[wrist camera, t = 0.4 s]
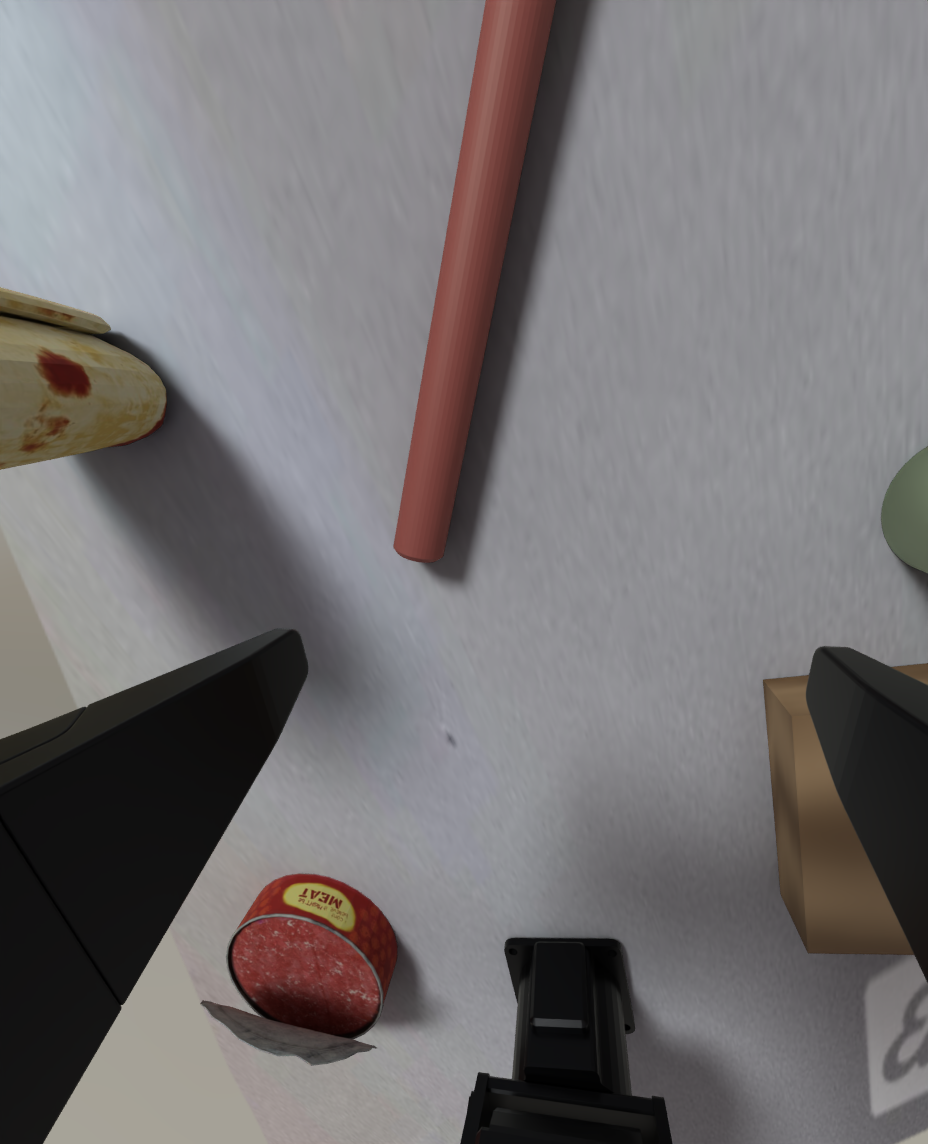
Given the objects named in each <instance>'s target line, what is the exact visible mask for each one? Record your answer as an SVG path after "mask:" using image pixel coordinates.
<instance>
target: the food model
mask: <svg viewBox="0 0 928 1144" xmlns="http://www.w3.org/2000/svg"><path fill="white" fill-rule="evenodd" d="M110 330H111V328H110V326H109V325H108V324H107V323H106V322H105V321H104V320H103V319H102V318H101V317H98V316H96V315H94V314H92V313H88V312H85V311H82V310H78V309H75V308H72V307H68V306H65V305H62V304H58V303H55V302H51V301H48V300H44V299H41V298H37V297H34V296H30V295H27V294H23V293H19V292H15V291H12V290H8V289H4V288H0V470H1V469H6V468H11V467H16V466H21V465H26V464H31V463H36V462H41V461H46V460H51V459H56V458H60V457H65V456H70V455H75V454H80V453H85V452H90V451H94V450H98V449H102V448H105V447H115V446H123V445H128V444H130V443H133V442H135V441H138V440H140V439H142V438H145V437H147V436H149V435H151V434H152V433H153V432H155V431H156V430H157V429H158V428H160V427H161V425H162V424H163V421H164V417H165V411H166V405H167V397H166V389H165V387H164V385H163V383H162V381H161V379H160V378H159V376H158V375H157V374H156V373H155V372H154V371H153V370H152V369H151V368H150V367H149V366H148V365H147V364H145V363H144V362H142V361H141V360H139V359H137V358H136V357H134V356H133V355H131V354H130V353H127V352H125V351H123V350H121V349H119V348H117V347H115V346H113V345H111V344H109V343H107V342H105V341H102V340H100V339H98V338H96V337H94V336H92V335H89V334H103V333H106V332H108V331H110Z"/></svg>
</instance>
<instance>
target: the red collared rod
mask: <svg viewBox="0 0 928 1144" xmlns="http://www.w3.org/2000/svg"><path fill="white" fill-rule="evenodd" d="M555 4H556V0H486V3H485V9H484V15H483V21H482V27H481V32H480V38H479V44H478V50H477V56H476V62H475V68H474V74H473V80H472V86H471V91H470V97H469V103H468V109H467V115H466V121H465V127H464V133H463V139H462V145H461V151H460V156H459V162H458V168H457V174H456V180H455V186H454V192H453V198H452V204H451V210H450V215H449V221H448V227H447V233H446V239H445V245H444V251H443V257H442V263H441V269H440V275H439V280H438V286H437V292H436V298H435V304H434V310H433V316H432V322H431V328H430V334H429V340H428V345H427V351H426V357H425V363H424V369H423V375H422V381H421V387H420V393H419V399H418V404H417V410H416V416H415V422H414V428H413V434H412V440H411V446H410V452H409V458H408V464H407V469H406V475H405V481H404V487H403V493H402V499H401V505H400V511H399V517H398V523H397V528H396V534H395V540H394V549H395V550H396V552H397V553H398V554H399V555H400V556H402V557H403V558H406V559H409V560H412V561H416V562H424V563H430V562H435V561H437V560H439V559H440V558H442V557H443V556H444V551H445V546H446V541H447V536H448V531H449V526H450V521H451V516H452V511H453V506H454V501H455V496H456V492H457V487H458V482H459V477H460V472H461V467H462V462H463V457H464V452H465V447H466V442H467V437H468V432H469V428H470V423H471V418H472V413H473V408H474V403H475V398H476V393H477V388H478V383H479V378H480V373H481V368H482V363H483V359H484V354H485V349H486V344H487V339H488V334H489V329H490V324H491V319H492V314H493V309H494V304H495V299H496V295H497V290H498V285H499V280H500V275H501V270H502V265H503V260H504V255H505V250H506V245H507V240H508V235H509V231H510V226H511V221H512V216H513V211H514V206H515V201H516V196H517V191H518V186H519V181H520V176H521V171H522V166H523V162H524V157H525V152H526V147H527V142H528V137H529V132H530V127H531V122H532V117H533V112H534V107H535V102H536V98H537V93H538V88H539V83H540V78H541V73H542V68H543V63H544V58H545V53H546V48H547V43H548V38H549V33H550V29H551V24H552V19H553V14H554V9H555Z"/></svg>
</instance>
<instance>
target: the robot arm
mask: <svg viewBox="0 0 928 1144" xmlns="http://www.w3.org/2000/svg"><path fill="white" fill-rule="evenodd" d="M307 674H308V662H307V658H306V654H305V650H304V647H303V643H302V639H301V636H300V634H299V632H298V631H297V630H295V629H274V630H272V631H269V632H267V633H264V634H262V635H260V636H257V637H255V638H252V639H250V640H247V641H245V642H242V643H240V644H237V645H235V646H232V647H230V648H227V649H225V650H223V651H220V652H218V653H215V654H213V655H210V656H208V657H205V658H203V659H200V660H198V661H195V662H193V663H190V664H188V665H186V666H183V667H181V668H178V669H176V670H173V671H171V672H168V673H166V674H163V675H161V676H158V677H156V678H153V679H151V680H149V681H146V682H144V683H141V684H139V685H136V686H134V687H131V688H129V689H126V690H124V691H121V692H119V693H116V694H114V695H112V696H109V697H107V698H104V699H102V700H99V701H97V702H94V703H92V704H90V705H88V707H82V708H79V709H77V710H74V711H72V712H69V713H67V714H64V715H62V716H59V717H57V718H54V719H52V720H49V721H47V722H44V723H42V724H39V725H37V726H34V727H32V728H29V729H27V730H24V731H21V732H19V733H16V734H14V735H11V736H8V737H6V738H3V739H0V1144H43V1143H44V1141H45V1139H46V1137H47V1136H48V1134H49V1132H50V1131H51V1129H52V1127H53V1125H54V1124H55V1122H56V1120H57V1119H58V1117H59V1115H60V1113H61V1112H62V1110H63V1108H64V1107H65V1105H66V1103H67V1101H68V1099H69V1098H70V1096H71V1094H72V1093H73V1091H74V1089H75V1088H76V1086H77V1084H78V1083H79V1081H80V1079H81V1077H82V1076H83V1074H84V1072H85V1071H86V1069H87V1067H88V1065H89V1064H90V1062H91V1060H92V1058H93V1057H94V1055H95V1053H96V1052H97V1050H98V1048H99V1047H100V1045H101V1043H102V1041H103V1040H104V1038H105V1036H106V1035H107V1033H108V1031H109V1029H110V1027H111V1026H112V1024H113V1023H114V1021H115V1019H116V1017H117V1016H118V1014H119V1012H120V1011H121V1005H123V1004H124V1003H125V1001H126V1000H127V998H128V996H129V995H130V993H131V991H132V989H133V987H134V986H135V984H136V983H137V981H138V979H139V977H140V976H141V974H142V972H143V971H144V969H145V967H146V965H147V964H148V962H149V960H150V958H151V957H152V955H153V953H154V952H155V950H156V948H157V947H158V945H159V943H160V941H161V940H162V938H163V936H164V935H165V933H166V931H167V930H168V928H169V926H170V924H171V923H172V921H173V919H174V918H175V916H176V914H177V912H178V911H179V909H180V907H181V906H182V904H183V902H184V901H185V899H186V897H187V895H188V894H189V892H190V890H191V889H192V887H193V885H194V883H195V882H196V880H197V878H198V877H199V875H200V873H201V871H202V870H203V868H204V866H205V865H206V863H207V861H208V859H209V858H210V856H211V854H212V853H213V851H214V849H215V847H216V846H217V844H218V842H219V841H220V839H221V837H222V836H223V834H224V832H225V830H226V829H227V827H228V825H229V824H230V822H231V820H232V818H233V817H234V815H235V813H236V812H237V810H238V808H239V806H240V805H241V803H242V801H243V800H244V798H245V796H246V794H247V793H248V791H249V789H250V788H251V786H252V784H253V782H254V781H255V779H256V777H257V776H258V774H259V772H260V771H261V769H262V767H263V765H264V764H265V762H266V760H267V759H268V757H269V755H270V753H271V752H272V750H273V748H274V746H275V744H276V743H277V741H278V739H279V736H280V734H281V732H282V730H283V728H284V726H285V724H286V722H287V719H288V717H289V715H290V713H291V711H292V708H293V706H294V704H295V702H296V700H297V697H298V695H299V693H300V691H301V689H302V686H303V684H304V682H305V680H306V678H307ZM806 702H807V706H808V709H809V712H810V715H811V718H812V721H813V724H814V727H815V730H816V733H817V736H818V739H819V742H820V745H821V748H822V751H823V754H824V757H825V760H826V763H827V765H828V768H829V771H830V774H831V777H832V780H833V783H834V785H835V788H836V791H837V793H838V796H839V798H840V800H841V802H842V805H843V807H844V809H845V811H846V813H847V815H848V817H849V819H850V821H851V824H852V826H853V828H854V830H855V832H856V834H857V836H858V838H859V840H860V842H861V844H862V847H863V849H864V851H865V853H866V855H867V857H868V859H869V861H870V863H871V865H872V867H873V870H874V872H875V874H876V876H877V878H878V880H879V882H880V884H881V886H882V888H883V890H884V892H885V895H886V897H887V899H888V901H889V903H890V905H891V907H892V909H893V911H894V913H895V915H896V918H897V920H898V922H899V924H900V926H901V928H902V930H903V932H904V934H905V936H906V938H907V940H908V943H909V945H910V947H911V949H912V951H913V953H914V955H915V957H916V959H917V961H918V963H919V966H920V968H921V970H922V972H923V974H924V976H925V978H926V980H927V982H928V685H927V684H925V683H923V682H921V681H918V680H916V679H914V678H912V677H910V676H908V675H906V674H904V673H902V672H900V671H898V670H895V669H893V668H891V667H889V666H887V665H885V664H883V663H881V662H879V661H877V660H875V659H872V658H870V657H868V656H866V655H864V654H862V653H860V652H858V651H856V650H854V649H851V648H848V647H829V646H823V647H819V648H818V649H816V651H815V653H814V655H813V659H812V664H811V669H810V673H809V678H808V683H807V687H806ZM504 952H505V956H506V960H507V964H508V968H509V972H510V976H511V980H512V983H513V987H514V991H515V995H516V999H517V1003H518V1008H517V1021H516V1034H515V1047H514V1060H513V1073H512V1079H506V1078H499V1077H492V1076H490V1075H489V1074H488V1073H481V1072H478V1075H477V1080H476V1085H475V1090H474V1091H472V1092H471V1096H470V1097H469V1102H468V1109H467V1115H466V1120H465V1124H464V1129H463V1134H462V1138H461V1143H460V1144H672V1139H671V1133H670V1128H669V1122H668V1117H667V1111H666V1106H665V1100H664V1097H656V1096H652V1099H651V1098H644V1097H637V1096H632V1093H631V1083H630V1073H629V1064H628V1054H627V1044H626V1035H625V1034H631V1033H633V1032H634V1031H635V1024H634V1017H633V1011H632V1006H631V1000H630V995H629V989H628V984H627V978H626V973H625V967H624V962H623V956H622V951H621V946H620V944H619V943H618V942H617V941H615V940H612V939H530V938H511V939H508V940H506V942H505V949H504Z"/></svg>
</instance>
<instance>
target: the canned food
mask: <svg viewBox="0 0 928 1144" xmlns="http://www.w3.org/2000/svg"><path fill="white" fill-rule="evenodd" d="M226 960H227V969H228V972H229V975H230V978H231V981H232V983H233V984H234V986H235V988H236V990H237V991H238V993H239V994H240V996H241V997H242V998H243V999H244V1001H245V1002H246V1003H247V1004H248V1005H249V1006H250V1007H251V1008H252V1009H253V1010H254V1011H255V1012H256V1013H257V1014H258V1015H260V1016H261V1017H259V1016H256V1015H253V1014H250V1013H247V1012H245V1011H242V1010H239V1009H236V1008H233V1007H229V1006H223V1005H219V1004H216V1003H213V1002H209V1001H204V1000H203V1001H202V1002H201V1003H200V1005H201V1006H203V1007H204V1008H205V1009H206V1010H207V1011H208V1013H209V1014H210V1016H211V1017H212V1018H214V1019H215V1020H216V1021H218V1022H219V1023H221V1024H222V1025H224V1026H225V1027H226V1028H227V1029H228V1030H229V1031H230V1032H232V1033H233V1034H234V1035H235V1036H236V1037H237V1038H238V1039H239V1040H241V1041H243V1042H245V1043H246V1044H248V1045H250V1046H252V1047H254V1048H256V1049H258V1050H260V1051H263V1052H266V1053H269V1054H273V1055H276V1056H297V1057H299V1058H300V1059H302V1060H303V1061H305V1062H306V1063H308V1064H309V1065H311V1066H312V1065H320V1064H328V1063H332V1062H336V1061H340V1060H343V1059H346V1058H348V1057H350V1056H352V1055H354V1054H356V1053H357V1052H366V1051H370V1050H371V1049H372V1048H376V1049H377V1047H375V1046H372V1045H369V1044H365V1043H361V1042H358V1041H356V1040H352V1039H355V1038H357V1037H359V1036H362V1035H364V1034H365V1033H366V1032H368V1031H369V1030H370V1029H371V1028H372V1027H373V1026H374V1025H375V1023H376V1022H377V1020H378V1019H379V1017H380V1015H381V1012H382V1008H383V1003H384V1000H385V997H386V993H387V990H388V987H389V984H390V980H391V977H392V974H393V970H394V968H395V964H396V961H397V942H396V938H395V934H394V932H393V929H392V927H391V925H390V923H389V921H388V920H387V918H386V917H385V916H384V914H383V913H382V911H381V910H380V909H379V908H378V907H377V906H376V905H375V904H374V903H373V902H372V901H371V900H370V899H369V898H367V897H366V896H365V895H363V894H362V893H361V892H359V891H358V890H356V889H355V888H353V887H351V886H349V885H347V884H345V883H344V882H341V881H338V880H336V879H333V878H330V877H326V876H322V875H317V874H304V873H299V874H292V875H286V876H283V877H281V878H278V879H275V880H274V881H272V882H271V883H269V884H268V885H266V886H265V888H264V889H263V890H262V891H261V892H260V893H259V895H258V897H257V898H256V900H255V901H254V903H253V905H252V906H251V908H250V909H249V911H248V912H247V914H246V916H245V917H244V919H243V920H242V922H241V923H240V925H239V926H238V928H237V930H236V931H235V932H234V934H233V935H232V937H231V939H230V941H229V944H228V947H227V955H226Z"/></svg>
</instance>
